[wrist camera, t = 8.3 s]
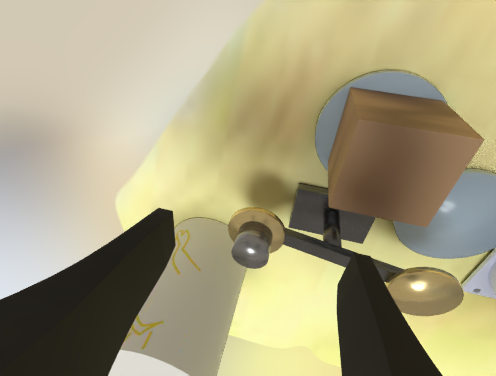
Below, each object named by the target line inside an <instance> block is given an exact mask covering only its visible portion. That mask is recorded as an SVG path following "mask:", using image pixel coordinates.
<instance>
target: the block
mask: <svg viewBox="0 0 496 376" xmlns="http://www.w3.org/2000/svg"><path fill="white" fill-rule="evenodd" d="M483 141H484V139H483V138H482V137H481V136H480V135H479V134H478V133H477V132H476V131H475V130H474V129H472V128H471V127H470V126H469V125H468V124H467V123H466V122H465V121H464V120H463V119H462V118H461V117H460V116H459V115H458V114H457V113H456V112H454V111H453V110H452V109H451V108H450V107H449V106H448V105H447V104H446V103H445V102H444V101H442V100H435V99H428V98H422V97H415V96H408V95H401V94H395V93H388V92H381V91H375V90H368V89H361V88H355V87H350V90H349V93H348V96H347V100H346V103H345V106H344V110H343V113H342V116H341V120H340V123H339V126H338V130H337V133H336V136H335V140H334V143H333V146H332V150H331V153H330V156H329V160H328V199H329V207H330V208H334V209H339V210H344V211H349V212H354V213H359V214H364V215H368V216H373V217H378V218H383V219H388V220H393V221H397V222H402V223H407V224H412V225H417V226H422V227H427V226H428V225H429V223H430V222H431V220H432V219H433V217H434V216H435V214H436V213H437V211H438V210H439V208H440V207H441V205H442V204H443V202H444V201H445V199H446V197H447V196H448V194H449V193H450V191H451V190H452V188H453V187H454V185H455V184H456V182H457V181H458V179H459V178H460V176H461V175H462V173H463V172H464V170H465V169H466V167H467V165H468V164H469V162H470V161H471V159H472V158H473V156H474V155H475V153H476V152H477V150H478V149H479V147H480V146H481V144H482V143H483Z"/></svg>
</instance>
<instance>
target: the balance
mask: <svg viewBox="0 0 496 376" xmlns="http://www.w3.org/2000/svg"><path fill="white" fill-rule="evenodd" d="M374 219H375V217H373V216H368V215H364V214H359V213H354V212H349V211H344V210H339V209H334V208H330V207H329V199H328V189H326V188H321V187H316V186H311V185H306V184H301V183H299V185H298V189H297V193H296V197H295V201H294V205H293V209H292V213H291V217H290V222H289V228H294V229H298V230H303V231H307V232H312V233H316V234H321V235H323V241H321V240H319V239H316V238H313V237H310V236H307V235H304V234H302V233H299V232H296V231H293V230H290V229H287V228H285V227H284V225H283V223H282V221H281V220H280V219H279V218H278V217H277V216H276V215H275V214H273V213H272V212H270V211H268V210H265V209H262V208H257V207H248V208H243V209H241V210H239V211H237V212H236V213H235V214H234V215H233V216H232V218H231V220H230V222H229V225H228V232H229V236H230V238H231V239H232V241H233V242H234V245H233V248H232V251H231V254H232V257H233V259H234V260H235V261H236V262H237V263H238V264H240V265H242V266H244V267H247V268H252V269H256V268H261V267H263V266H265V265H266V264H267V262H268V258H269V253H272V252H274V251H276V250H278V249H279V248H280V247H281V246H282V244H284V245H286V246H289V247H292V248H295V249H297V250H300V251H303V252H305V253H308V254H311V255H314V256H316V257H319V258H322V259H324V260H327V261H330V262H333V263H335V264H338V265H341V266H343V267H347V265H348V263H349V261H350V259H351V257H352V255H353V253H356V252H353V251H350V250H347V249H344V248H342V246H341V239H343V240H348V241H352V242H357V243H361V244H363V242H364V240H365V238H366V236H367V234H368V232H369V230H370V228H371V226H372V223H373V221H374ZM372 260H373V262H374V264H375V266H376V267H377V269H378V271H379V273H380V275H381V277H382V279H383V281H384V282H386V284H385V285H386V286H387V288H388V290H389V292H390V294H391V296H392V297H393V299H394V301H395V303H396V304H397V306H398V308H399V310H400V311H401V312H403V313H406V314H410V315H416V316H433V315H439V314H443V313H446V312H449V311H451V310H453V309H454V308H456V307H457V306H458V305H459V304H460V303H461V302H462V300H463V296H464V294H463V290H462V288H461V286H460V284H459V282H458V280H457V279H456V278H455V277H454V276H453V275H452V274H450V273H448V272H446V271H443V270H440V269H436V268H430V267H416V268H409V269H405V270H404V269H401V268H398V267H395V266H393V265H390V264H387V263H384V262H381V261H378V260H375V259H373V258H372Z"/></svg>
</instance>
